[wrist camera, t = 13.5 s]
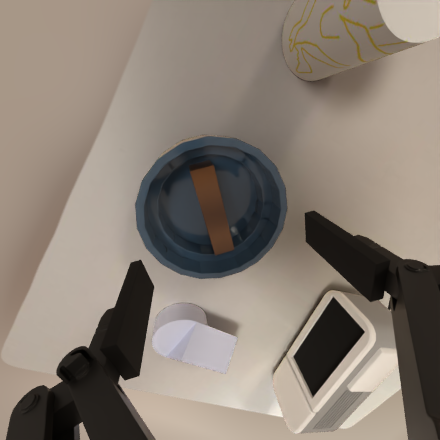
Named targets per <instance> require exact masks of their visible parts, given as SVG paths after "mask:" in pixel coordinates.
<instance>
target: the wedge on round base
mask: <svg viewBox="0 0 440 440" xmlns="http://www.w3.org/2000/svg"><path fill="white" fill-rule="evenodd" d="M237 339H238V337H235V336H233V335H230V334H228V333H225V332H222V331H220V330H217V329H214V328H212V327H209V326H207V318H206V314H205V312H204V311H203V310H202V309H201V308H200V307H198V306H196V305H193V304H189V303H178V304H173V305H170V306H168V307H166V308H164V309H163V310H162V311H161V312H160V313H159V314H158V315H157V317H156V319H155V323H154V330H153V337H152V346H153V348H154V350H155V351H156V352H157V353H158V354H160V355H162V356H164V357H167V358H171V359H174V360H178V361H181V362H185V363H188V364H192V365H195V366H199V367H202V368H206V369H209V370H213V371H217V372H220V373H224V374H226V372H227V369H228V366H229V363H230V360H231V357H232V354H233V351H234V348H235V345H236V342H237Z"/></svg>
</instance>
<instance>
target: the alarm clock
mask: <svg viewBox="0 0 440 440" xmlns="http://www.w3.org/2000/svg"><path fill="white" fill-rule="evenodd" d="M397 366H398V358H397V351H396V343H395V336H394V328H393V320H392V313H391V311H390V310H388V308H387V307H385V306H384V305H383V304H382V303H381V302H380V301H379V300H376V301H373V302H369V301H368V300H367V299H366V298H365V297H364V296H363V295H358V294H352V293H346V292H341V291H335V290H331V291H328V292H327V293H326V294H325V295H324V297H323V298H322V300H321V301H320V303H319V305H318V306H317V308H316V309H315V311H314V312H313V314H312V315H311V317H310V319H309V320H308V322H307V323H306V325H305V326H304V328H303V329H302V331H301V332H300V334H299V336H298V337H297V339H296V340H295V342H294V343H293V345H292V346H291V348H290V349H289V351H288V353H287V354H286V356H285V357H284V359H283V360H282V362H281V363H280V365H279V367H278V368H277V370H276V371H275V373H274V376H273V387H274V391H275V394H276V397H277V400H278V403H279V405H280V408H281V411H282V414H283V417H284V420H285V422H286V424H287V427H288V428H289V430H290V431H291V432H292V433H294V434H298V433H313V432H329V431H335V430H337V429H338V428H339V427H340V426H341V425H342V423H343V422H344V421H345V420H346V419H347V418H348V417H349V416H350V415H351V414H352V413H353V412H354V411H355V410H356V409H357V408H358V407H359V405H360V404H361V403H362V402H363V401H364V400H365V399H366V398H367V397H368V396H369V395H370V394H371V393H372V392H373V391H374V390H375V389H376V388H377V387H378V386H379V385H380V384H381V383H382V382H383V381H384V380H385V379H386V378H387V377H388V375H389V374H390V373H391V372H392V371H393V370H394V369H395V368H396V367H397Z"/></svg>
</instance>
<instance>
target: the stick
mask: <svg viewBox="0 0 440 440" xmlns="http://www.w3.org/2000/svg"><path fill="white" fill-rule="evenodd" d="M189 170H190V174H191V177H192V181H193V184H194V187H195V191H196V194H197V197H198V201H199V204H200V207H201V211H202V214H203V217H204V221H205V224H206V227H207V230H208V234H209V237H210V240H211V244H212V247H213V250H214V254H215V255H219V254H222V253H226V252H229V251H232V250H234V245H233V241H232V237H231V233H230V229H229V225H228V221H227V217H226V213H225V209H224V205H223V201H222V197H221V193H220V189H219V184H218V180H217V176H216V172H215V168H214V165H213V164H212V163H211V162H210V160H207V161H203V162H199V163H196V164H192V165H189Z"/></svg>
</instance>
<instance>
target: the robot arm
mask: <svg viewBox="0 0 440 440" xmlns="http://www.w3.org/2000/svg"><path fill="white" fill-rule="evenodd" d="M305 230H306V242H307V243H308V244H309V245H310V246H311V247H312V248H313V249H314V250H315V251H316V252H317V253H318V254H319V255H320V256H322V257H323V258H324V259H325V260H326V261H327V262H328V263H329V264H330V265H331V266H332V267H333V268H334V269H335V270H336V271H338V272H339V273H340V274H341V275H342V276H343V277H344V278H345V279H346V280H347V281H348V282H349V283H350V284H351V285H352V286H353V287H355V288H356V289H357V290H358V291H359V292H360V293H361V294H362V295H363V296H364V297H365V298H366V299H367V300H368V301H369V302H373V301H376V300H380V299H383V296H384V291H386V292H387V293H388V294H390V295H391V297H390V301H389V306H388V310H390V309H391V313H392V320H393V328H394V336H395V343H396V351H397V358H398V366H399V373H400V381H401V389H402V396H403V403H404V411H405V419H406V426H407V434H408V440H440V265H433V266H428V265H426V264H425V263H423V262H420V261H417V260H412V259H405V260H403V259H402V258H400V257H398V256H397V255H395V254H393V253H392V252H390V251H388V250H387V249H385V248H383V247H381V246H380V245H378V244H377V243H375V242H374V241H372V240H370V239H369V238H367V237H363V236H360V235H356V236H353V235H351V234H350V233H348V232H346V231H345V230H343V229H342V228H340V227H339V226H337V225H336V224H334V223H333V222H331V221H329V220H328V219H326V218H325V217H323V216H322V215H320V214H319V213H317V212H316V211H310V212H307V213H305ZM153 290H154V285H153V283H152V281H151V279H150V277H149V275H148V273H147V271H146V269H145V267H144V265H143V263H142V261H141V260H139V261H135V262H132V263H131V264H130V267H129V269H128V272H127V275H126V278H125V280H124V283H123V286H122V289H121V291H120V294H119V297H118V300H117V302H116V305H115V308H112V309H108V310H107V311H106V312H105V314H104V315H103V316H102V317H101V319H100V322H99V324H98V327H97V329H96V332H95V334H94V336H93V339H92V341H91V344H90V346H89V349H88V348H87V347H86V346H81V347H78V348H75V349H74V350H72V351H71V352H69V353H68V354H67V355H66V356H65V357H64V358H63V359H62V361H61V362H60V363H59V365H58V368H57V376H59V378H61V379H62V380H63V381H62V382H61V383H59V384H57V385H56V386H54V387H52V388H51V389H49V388H47V387H46V386H44V385H42V386H38V387H36V388H34V389H32V390H31V391H29V392H28V393H27V394H26V395H25V396H24V397H23V398H22V399H21V400H20V401H19V402H18V404H17V405H16V407H15V408H14V410H13V412H12V414H11V417H10V422H9V427H8V432H7V437H6V440H80V434H79V424H80V423H81V422H83V424H84V427H85V429H86V432H87V434H88V436H89V439H90V440H155V438H154V436H153V435H152V433H151V432H150V430H149V429H148V427H147V426H146V424H145V423H144V421H143V420H142V418H141V417H140V415H139V414H138V412H137V411H136V409H135V408H134V406H133V405H132V403H131V402H130V400H129V399H128V397H127V396H126V394H125V393H124V391H123V390H122V388H121V387H120V385H119V384H118V381H119V377H120V375H121V376H122V378H123V379H124V380H128V379H131V378H134V377H137V376H139V375H140V369H141V363H142V357H143V351H144V345H145V339H146V333H147V327H148V320H149V314H150V308H151V302H152V296H153Z"/></svg>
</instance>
